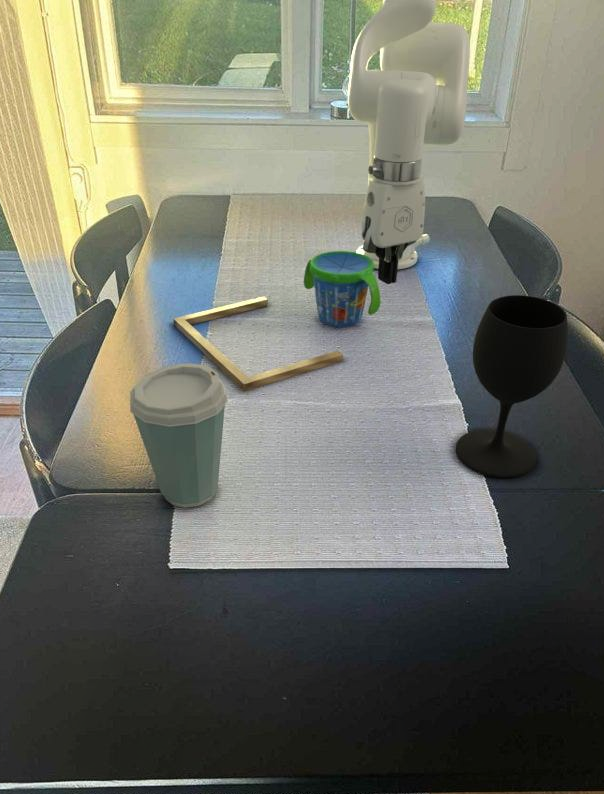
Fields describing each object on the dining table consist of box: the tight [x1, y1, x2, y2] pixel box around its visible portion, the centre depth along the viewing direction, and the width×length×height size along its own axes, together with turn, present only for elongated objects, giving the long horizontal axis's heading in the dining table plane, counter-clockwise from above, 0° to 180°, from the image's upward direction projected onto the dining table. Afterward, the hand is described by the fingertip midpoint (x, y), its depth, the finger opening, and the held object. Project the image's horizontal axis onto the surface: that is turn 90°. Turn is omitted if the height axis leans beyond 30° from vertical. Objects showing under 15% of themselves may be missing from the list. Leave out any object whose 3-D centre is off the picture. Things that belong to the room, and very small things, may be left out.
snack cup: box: [303, 250, 381, 328], centre depth 118 cm, size 16×10×10 cm
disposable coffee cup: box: [129, 362, 229, 509], centre depth 80 cm, size 11×11×15 cm
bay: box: [172, 296, 344, 392], centre depth 114 cm, size 18×25×1 cm
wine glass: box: [454, 294, 569, 479], centre depth 85 cm, size 10×10×20 cm
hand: (386, 280), depth 122 cm, fingers closed
